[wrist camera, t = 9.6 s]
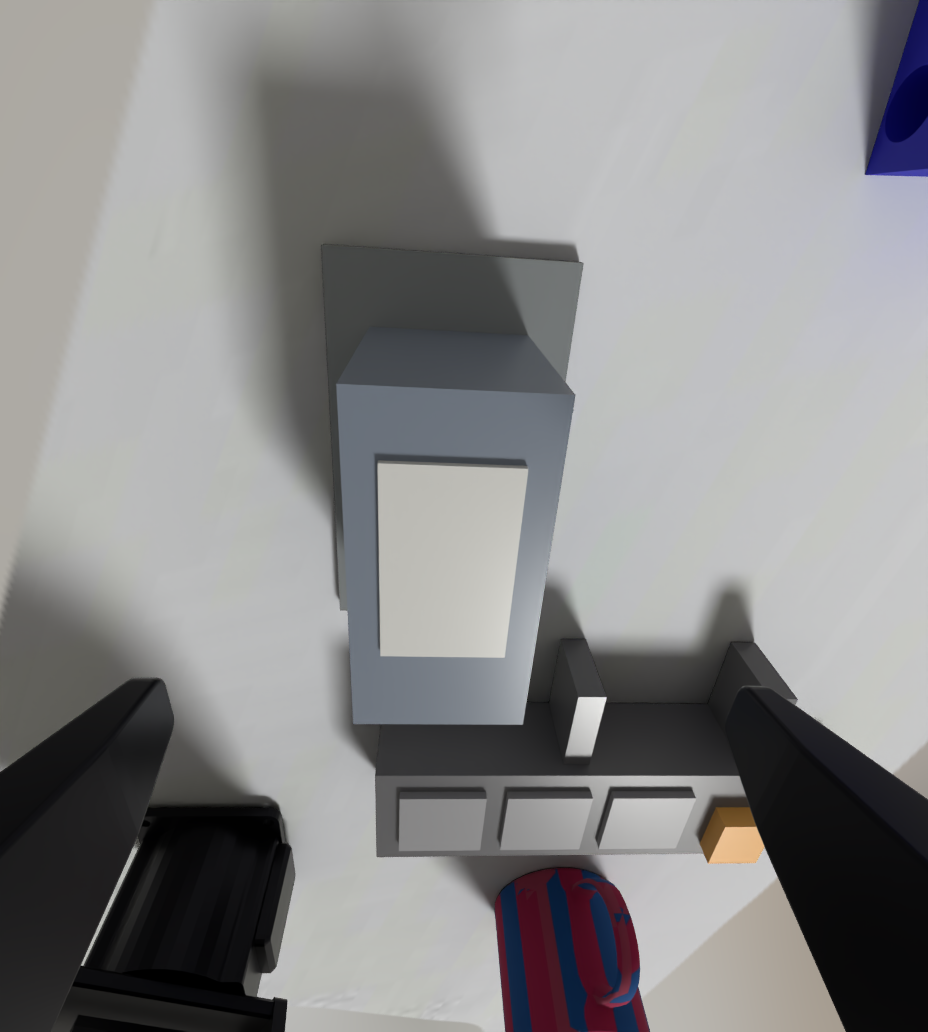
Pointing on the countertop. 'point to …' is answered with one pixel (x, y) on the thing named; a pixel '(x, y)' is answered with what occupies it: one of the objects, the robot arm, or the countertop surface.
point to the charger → (447, 520)
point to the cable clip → (906, 110)
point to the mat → (438, 312)
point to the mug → (567, 955)
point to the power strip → (575, 775)
